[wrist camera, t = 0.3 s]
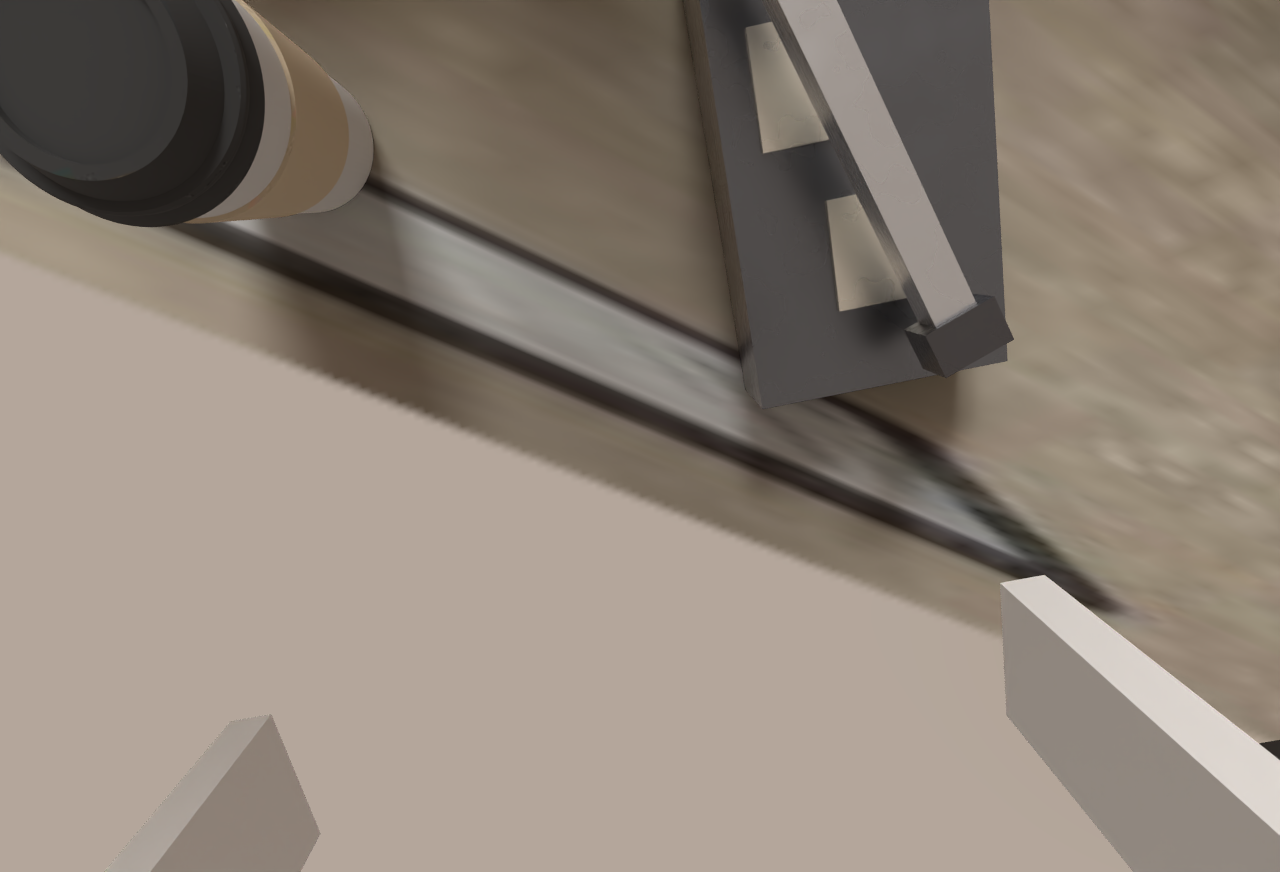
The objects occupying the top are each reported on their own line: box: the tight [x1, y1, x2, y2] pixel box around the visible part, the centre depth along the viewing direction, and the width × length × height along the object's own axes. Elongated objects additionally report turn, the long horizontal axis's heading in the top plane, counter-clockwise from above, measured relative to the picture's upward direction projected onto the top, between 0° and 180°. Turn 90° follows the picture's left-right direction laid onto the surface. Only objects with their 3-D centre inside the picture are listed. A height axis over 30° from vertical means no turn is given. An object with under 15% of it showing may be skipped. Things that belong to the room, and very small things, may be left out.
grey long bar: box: [761, 0, 1014, 378], centre depth 25 cm, size 21×3×2 cm, turn 31°
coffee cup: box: [0, 0, 374, 227], centre depth 26 cm, size 9×9×15 cm
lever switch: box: [683, 0, 1007, 409], centre depth 30 cm, size 22×12×8 cm, turn 11°
